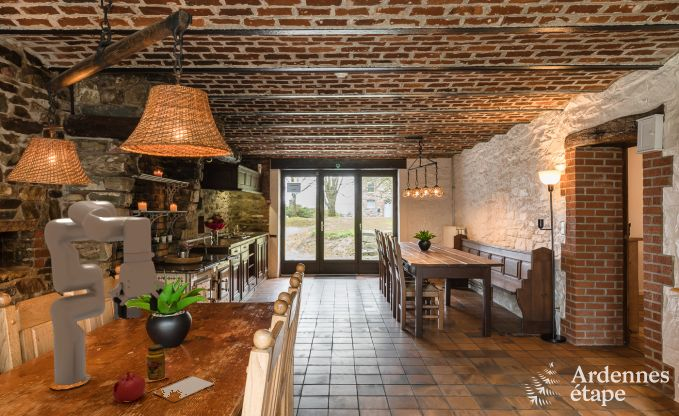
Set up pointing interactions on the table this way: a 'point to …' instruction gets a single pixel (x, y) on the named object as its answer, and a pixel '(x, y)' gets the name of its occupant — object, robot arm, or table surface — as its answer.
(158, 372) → the condiment
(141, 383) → the pomegranate
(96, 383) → the table surface
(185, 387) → the mat
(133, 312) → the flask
